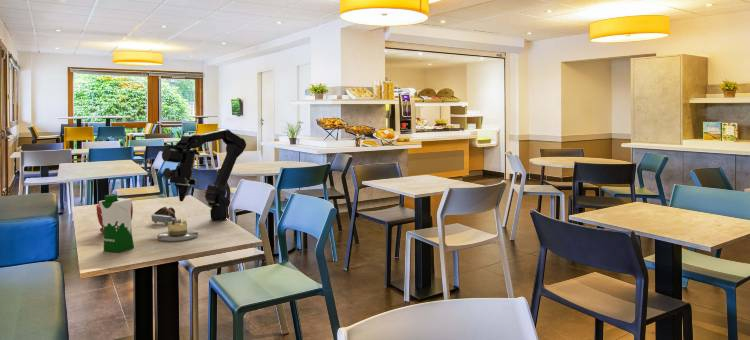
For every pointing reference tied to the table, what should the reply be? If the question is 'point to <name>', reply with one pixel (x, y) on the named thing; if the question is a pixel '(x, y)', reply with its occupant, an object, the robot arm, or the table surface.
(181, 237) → the spindle flange
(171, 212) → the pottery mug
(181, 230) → the lever valve handle
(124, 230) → the milk carton
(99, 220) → the plant pot
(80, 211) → the table surface
